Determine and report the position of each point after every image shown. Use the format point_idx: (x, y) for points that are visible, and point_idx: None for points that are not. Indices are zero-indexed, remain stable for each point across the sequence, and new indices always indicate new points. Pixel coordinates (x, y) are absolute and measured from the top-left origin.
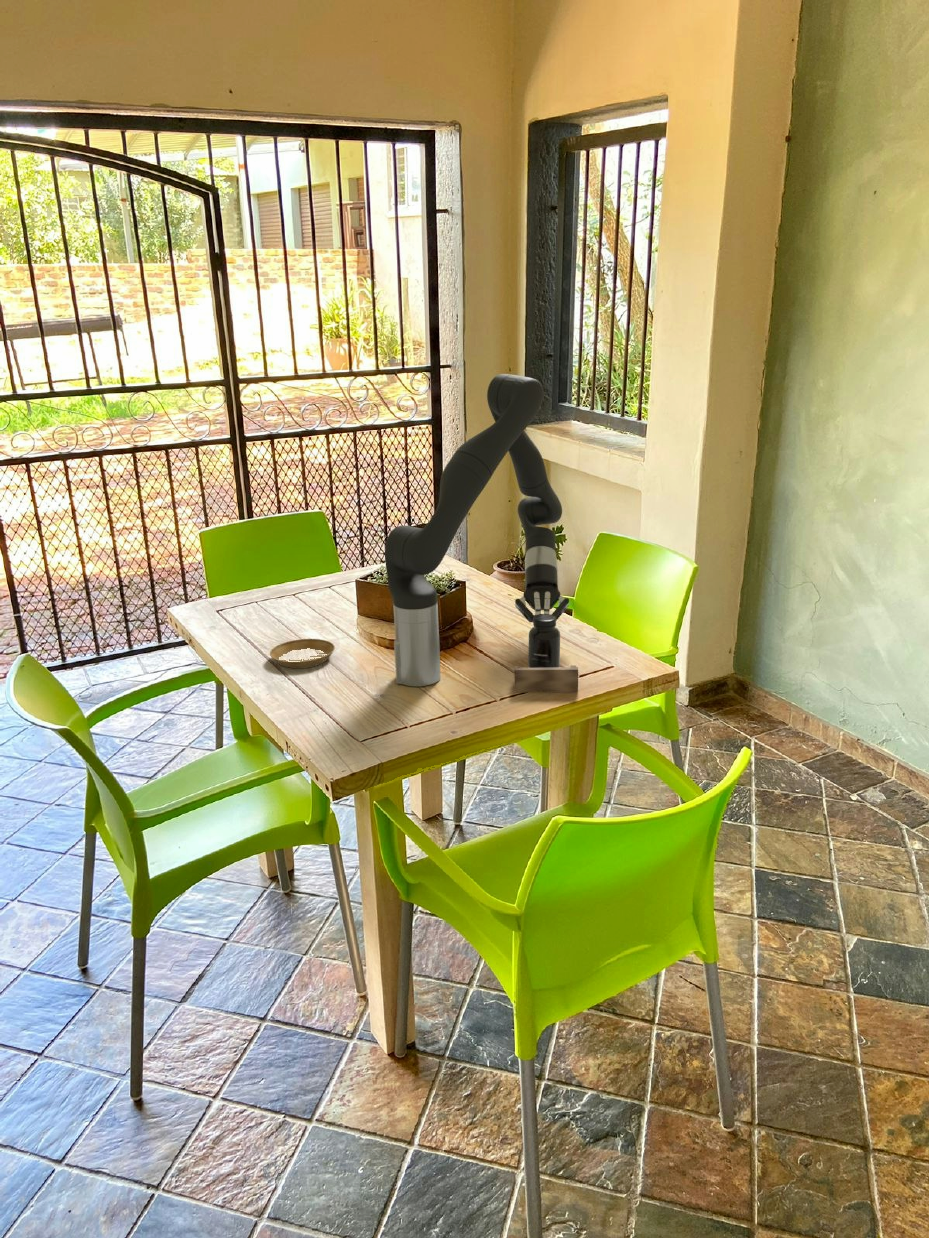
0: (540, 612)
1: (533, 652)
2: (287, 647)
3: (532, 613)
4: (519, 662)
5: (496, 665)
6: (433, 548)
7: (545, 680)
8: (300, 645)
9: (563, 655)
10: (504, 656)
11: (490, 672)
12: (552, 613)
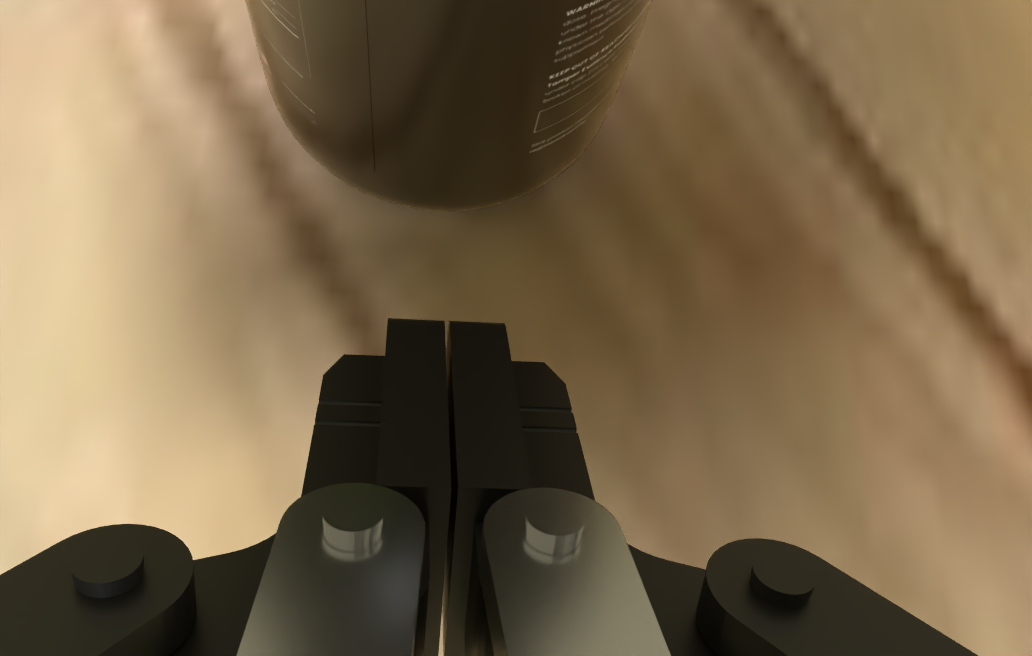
0: (523, 647)
1: None
2: None
3: (755, 638)
4: (713, 258)
5: (952, 197)
6: None
7: None
8: None
9: (147, 445)
10: (901, 454)
11: (982, 34)
12: (142, 626)
